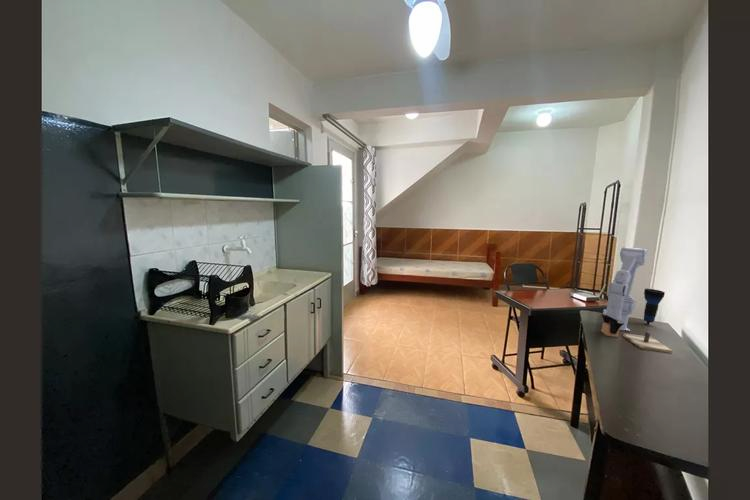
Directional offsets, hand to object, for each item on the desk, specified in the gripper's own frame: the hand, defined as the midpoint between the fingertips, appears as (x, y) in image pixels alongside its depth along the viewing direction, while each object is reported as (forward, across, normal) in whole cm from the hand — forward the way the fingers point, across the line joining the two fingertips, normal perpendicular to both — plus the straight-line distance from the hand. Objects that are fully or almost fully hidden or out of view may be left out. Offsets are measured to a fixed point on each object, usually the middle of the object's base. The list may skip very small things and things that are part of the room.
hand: (610, 331), depth 142 cm
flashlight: (+2, -24, +29) cm, 38 cm away
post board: (+2, +6, +12) cm, 14 cm away
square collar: (+2, 0, 0) cm, 2 cm away
